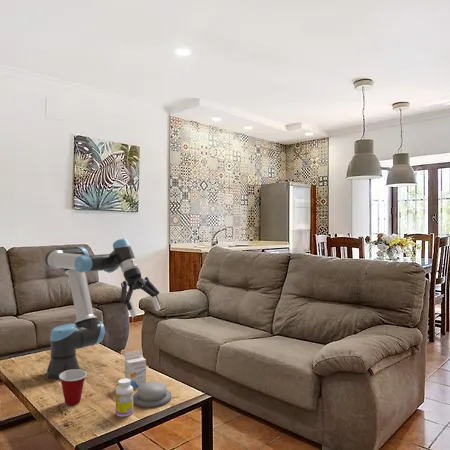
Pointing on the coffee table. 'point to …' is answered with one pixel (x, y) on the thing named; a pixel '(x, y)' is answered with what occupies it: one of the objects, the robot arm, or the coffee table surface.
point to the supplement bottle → (124, 398)
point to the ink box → (135, 368)
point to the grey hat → (151, 395)
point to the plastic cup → (72, 385)
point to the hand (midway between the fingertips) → (146, 313)
